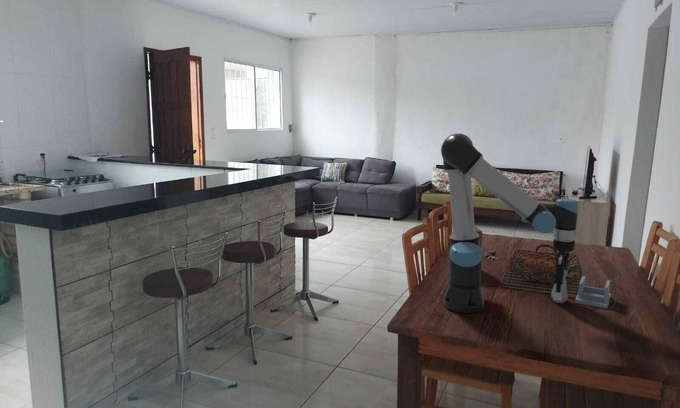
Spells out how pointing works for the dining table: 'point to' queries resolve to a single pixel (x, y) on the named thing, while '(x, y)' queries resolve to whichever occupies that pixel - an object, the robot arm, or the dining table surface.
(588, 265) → the dining table surface
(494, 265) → the dining table surface
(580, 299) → the blue bracket with posts
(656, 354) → the dining table surface
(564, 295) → the salt shaker
